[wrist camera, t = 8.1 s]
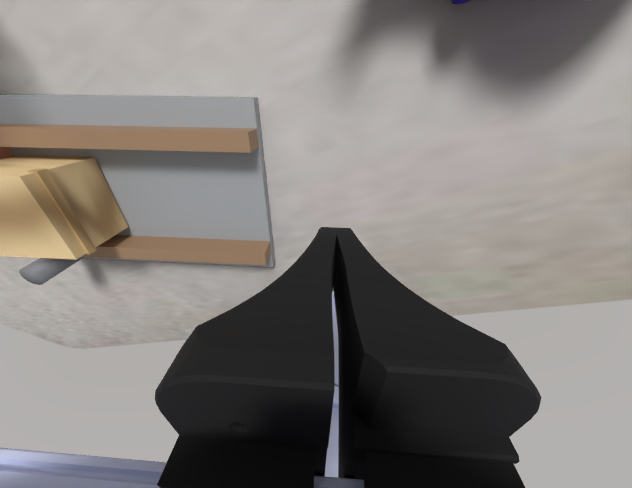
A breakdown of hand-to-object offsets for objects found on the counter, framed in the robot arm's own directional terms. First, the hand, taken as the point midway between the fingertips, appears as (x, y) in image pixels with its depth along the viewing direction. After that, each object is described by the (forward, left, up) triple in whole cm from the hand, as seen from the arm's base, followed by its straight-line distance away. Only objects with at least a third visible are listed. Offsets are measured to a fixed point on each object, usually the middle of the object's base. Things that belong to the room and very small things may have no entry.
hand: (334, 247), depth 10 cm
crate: (-1, +21, -9) cm, 23 cm away
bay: (-2, +16, -10) cm, 19 cm away
